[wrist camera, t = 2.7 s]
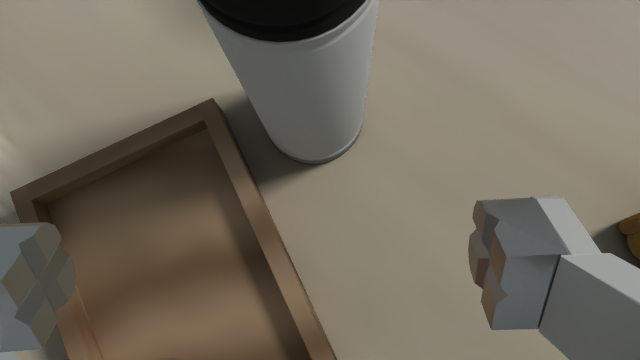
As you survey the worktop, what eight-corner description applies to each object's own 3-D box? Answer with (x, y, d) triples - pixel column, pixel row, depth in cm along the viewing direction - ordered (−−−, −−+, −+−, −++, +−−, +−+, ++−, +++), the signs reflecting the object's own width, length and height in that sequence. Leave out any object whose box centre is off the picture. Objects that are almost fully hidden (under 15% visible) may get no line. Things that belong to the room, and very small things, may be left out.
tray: (345, 378, 29) (345, 388, 26) (140, 480, 28) (119, 501, 26) (223, 112, 32) (212, 97, 29) (37, 199, 32) (9, 192, 29)
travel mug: (243, 132, 32) (82, -96, 12) (304, 53, 33) (246, -280, 13) (321, 188, 31) (284, 40, 11) (382, 106, 32) (447, -166, 12)
